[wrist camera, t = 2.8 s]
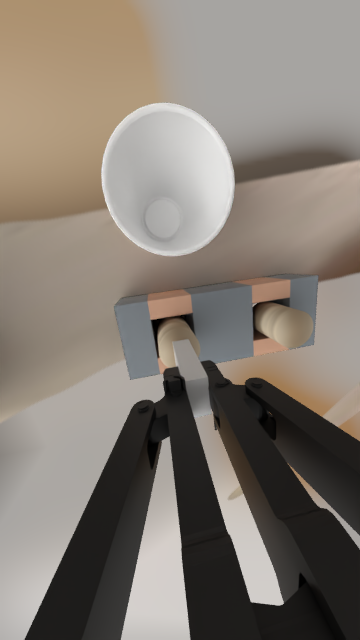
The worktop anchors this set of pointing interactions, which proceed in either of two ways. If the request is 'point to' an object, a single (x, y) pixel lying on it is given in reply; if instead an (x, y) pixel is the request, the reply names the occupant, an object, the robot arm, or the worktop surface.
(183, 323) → the peg
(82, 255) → the worktop surface
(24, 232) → the worktop surface
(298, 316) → the peg
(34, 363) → the worktop surface
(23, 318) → the worktop surface
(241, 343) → the block
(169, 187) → the cup
